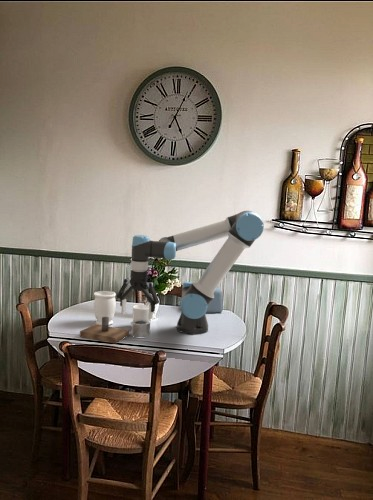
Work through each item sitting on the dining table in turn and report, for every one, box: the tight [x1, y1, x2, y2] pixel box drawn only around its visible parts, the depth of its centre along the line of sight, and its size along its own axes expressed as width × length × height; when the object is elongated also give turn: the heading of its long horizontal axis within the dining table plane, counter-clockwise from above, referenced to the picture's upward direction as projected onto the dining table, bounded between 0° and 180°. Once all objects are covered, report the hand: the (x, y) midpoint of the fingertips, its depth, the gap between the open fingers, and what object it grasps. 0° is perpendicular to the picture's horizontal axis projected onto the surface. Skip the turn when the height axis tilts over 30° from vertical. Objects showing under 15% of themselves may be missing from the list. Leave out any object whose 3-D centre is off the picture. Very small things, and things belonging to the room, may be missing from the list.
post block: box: [79, 317, 130, 344], centre depth 206 cm, size 18×12×8 cm, turn 69°
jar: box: [93, 290, 117, 326], centre depth 224 cm, size 11×10×15 cm
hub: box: [130, 320, 151, 338], centre depth 210 cm, size 8×8×6 cm
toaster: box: [205, 286, 224, 314], centre depth 257 cm, size 16×16×16 cm
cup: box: [132, 304, 151, 323], centre depth 223 cm, size 8×12×10 cm
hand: (136, 316), depth 209 cm, fingers open, 13 cm apart
